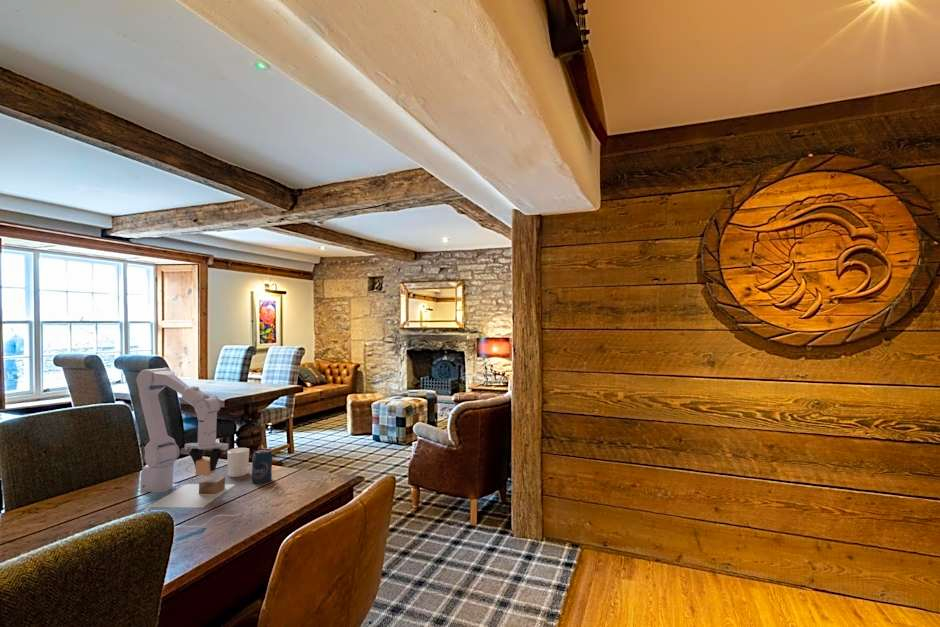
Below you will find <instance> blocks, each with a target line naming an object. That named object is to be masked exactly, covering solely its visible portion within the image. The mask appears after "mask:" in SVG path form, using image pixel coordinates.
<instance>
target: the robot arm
mask: <svg viewBox="0 0 940 627" xmlns="http://www.w3.org/2000/svg"><path fill="white" fill-rule="evenodd" d="M135 381H136V384H137V388H138V396H139V400H140V404H141V409H142V413H143V417H144V420H145V425H146V430H147V432H148V437H149V441H148V443H147V444H145V446H144V449H143V451H144V462H145V464H146V465H144V466H143V467H142V469H141V471H140V472H141V473H140V481H139V482H140V487H139V490H138V492H142V493H143V492H147V493H148V492H149V493H150V492H152V493H155V492H157V493H160V492H162V493H164V492H167V491H170V490H171V489H172V488H174V487H176V486H178V485H179V483H174V467H175V466H174V464H175V463H176V459H178V458H179V456H180V448H179V446H178V444H177V443H176V439H175V438H173V437H171V436H169V435H168V432H167V431H168V430H167V428H166V423H165V419H164V415H163V412H162V407H161V402H160V399H159V394H160V392H161V391H163V390H164V389H165V388H167V387H168V388H170V389H171V390H174V391H175V392H177V393H179V394H180V395H181V399H182V400H183V401H184V402H186V403H187V404H188V405H190V406H192V407H193V408H194V412H195V413H196V418H197V420H198V421H197V422H198V423H197V442H188V443H185V444H184V450H185V451H188V450H190V451H189V454H188V455H189V456H190V457H191V459H192V461H193V464H194V467H195V469H196V461H197V460H199V459H201V458H203V455H204V451H207V450H210V451H209V452H208V454H209V458H210V470H211V471H213V470H215V471H216V469H217V465H218V461H219V459H220V457H221V455H222V453H223V452H224V451H228V450H229V443H224V442H217V421H218V420H217V418H218V412H219V411H220V410H221V408H222V402H221V400H220V399H219V398H218V396H210V395H209V394H208V393H205V392H203V391H202V390H201V389H200V387H199V386H194V385H193V386H189V385H188V384H186V382H184V381H183V380H182V379H181V378H180V377H178V376H177V375H176V373H175V371H174V370H172V369H171V368H169V367H162V368H150V369H147V368H145V369H142V370H141V371H140V372H139V373H138V375H137V377H136V378H135Z"/></svg>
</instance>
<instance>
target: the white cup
mask: <svg viewBox="0 0 940 627" xmlns="http://www.w3.org/2000/svg"><path fill="white" fill-rule="evenodd" d="M226 454H227V475H228V476H229V477H231V478H237V477H243V476H245V475H247V474H248V467H249V458H250V448H247V447H235V448H231V449H227V450H226Z"/></svg>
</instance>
